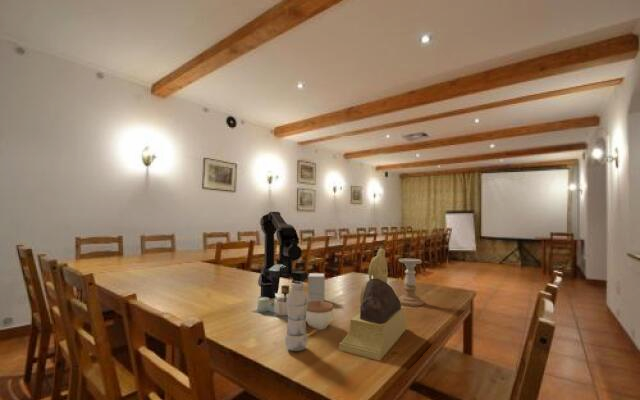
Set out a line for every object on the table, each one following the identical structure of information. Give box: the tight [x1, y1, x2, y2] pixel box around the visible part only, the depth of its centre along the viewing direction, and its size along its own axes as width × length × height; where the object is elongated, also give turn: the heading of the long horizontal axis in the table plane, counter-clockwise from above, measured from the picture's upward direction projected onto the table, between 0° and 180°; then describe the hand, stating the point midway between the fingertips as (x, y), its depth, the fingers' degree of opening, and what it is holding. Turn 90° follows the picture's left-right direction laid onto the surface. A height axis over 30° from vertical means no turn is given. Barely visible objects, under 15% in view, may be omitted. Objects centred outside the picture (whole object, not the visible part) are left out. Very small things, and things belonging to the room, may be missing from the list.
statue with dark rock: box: [338, 247, 407, 361], centre depth 102 cm, size 28×13×30 cm, turn 149°
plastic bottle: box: [284, 281, 308, 352], centre depth 93 cm, size 6×7×20 cm
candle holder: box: [397, 257, 425, 307], centre depth 144 cm, size 12×12×20 cm
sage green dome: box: [256, 296, 271, 314], centre depth 127 cm, size 5×5×5 cm
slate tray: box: [251, 302, 288, 321], centre depth 127 cm, size 22×16×1 cm
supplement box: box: [307, 272, 326, 302], centre depth 144 cm, size 7×7×13 cm
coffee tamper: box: [280, 284, 290, 302], centre depth 126 cm, size 6×6×9 cm
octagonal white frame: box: [273, 296, 288, 316], centre depth 125 cm, size 8×10×5 cm
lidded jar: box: [306, 300, 334, 331], centre depth 112 cm, size 11×11×9 cm
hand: (285, 294), depth 126 cm, fingers open, 9 cm apart
